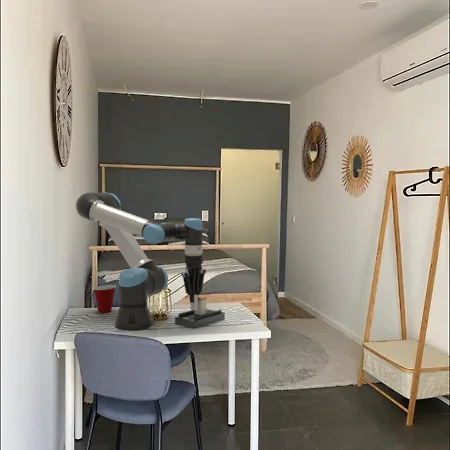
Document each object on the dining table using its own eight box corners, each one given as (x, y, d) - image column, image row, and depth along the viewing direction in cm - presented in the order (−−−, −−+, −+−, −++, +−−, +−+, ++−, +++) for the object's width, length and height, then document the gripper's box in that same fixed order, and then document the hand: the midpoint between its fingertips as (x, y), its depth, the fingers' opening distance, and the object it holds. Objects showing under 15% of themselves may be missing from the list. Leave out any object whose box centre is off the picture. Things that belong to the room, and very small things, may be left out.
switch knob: (201, 315, 212) (201, 298, 212) (194, 313, 215) (194, 296, 215) (206, 314, 215) (206, 297, 214) (199, 312, 218) (199, 295, 217)
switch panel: (193, 328, 204) (193, 318, 204) (174, 324, 211) (174, 313, 211) (224, 319, 219) (224, 309, 219) (206, 315, 226) (206, 305, 226)
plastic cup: (103, 308, 239) (102, 283, 238) (121, 310, 234) (120, 285, 234) (87, 312, 229) (87, 287, 229) (106, 315, 225) (105, 289, 224)
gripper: (189, 256, 202) (189, 313, 204) (210, 254, 212) (210, 308, 214) (176, 255, 207) (176, 311, 209) (197, 252, 217) (198, 305, 219)
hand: (194, 309), depth 211 cm, fingers closed
